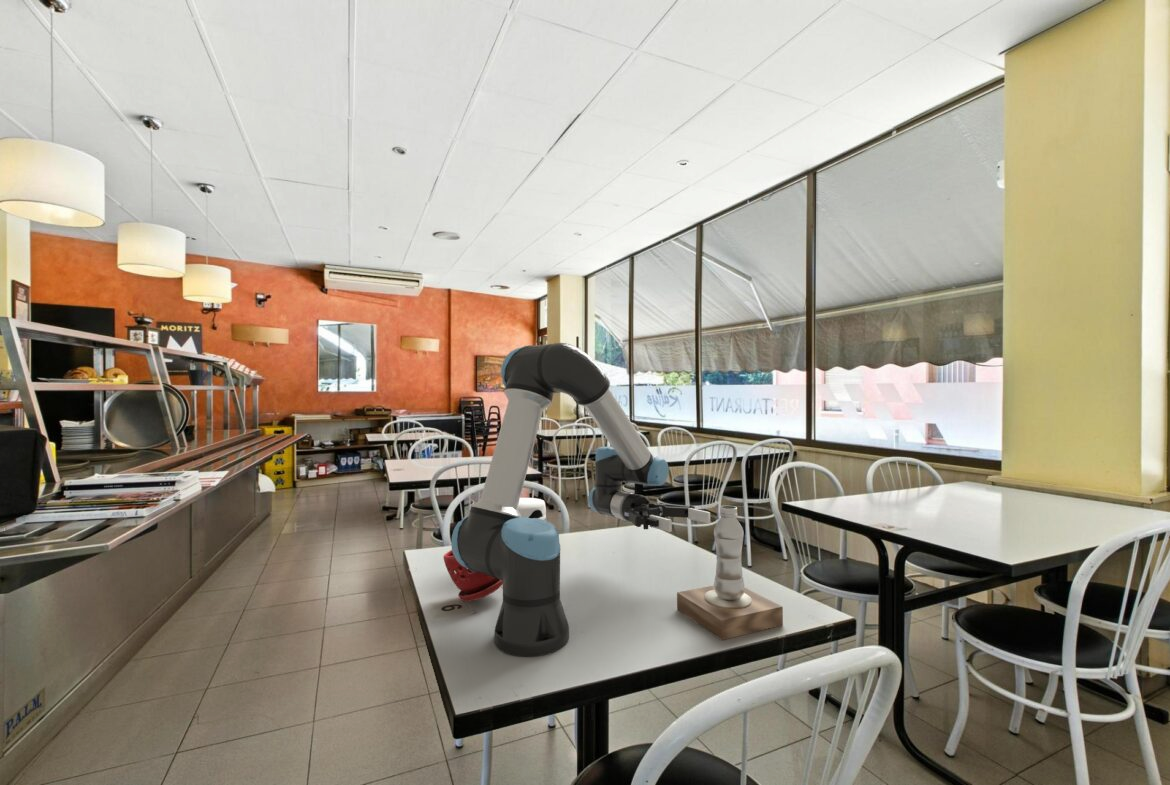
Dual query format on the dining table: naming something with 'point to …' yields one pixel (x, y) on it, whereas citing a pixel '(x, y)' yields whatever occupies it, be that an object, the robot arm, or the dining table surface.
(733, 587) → the plastic bottle
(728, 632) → the walnut plinth
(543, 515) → the milk container
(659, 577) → the dining table surface
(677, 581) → the dining table surface
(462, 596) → the plant pot
